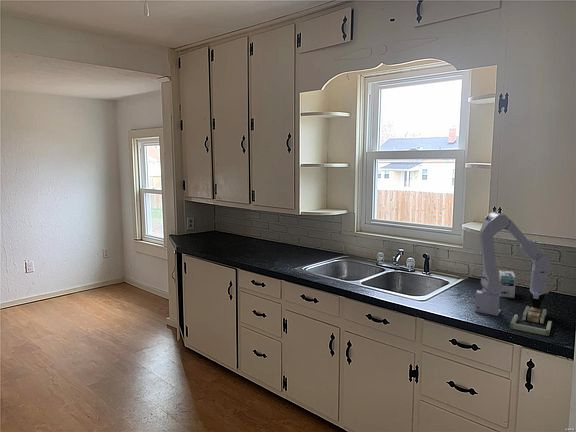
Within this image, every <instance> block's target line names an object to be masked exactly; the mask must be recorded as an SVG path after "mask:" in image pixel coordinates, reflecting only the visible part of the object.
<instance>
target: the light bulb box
mask: <svg viewBox="0 0 576 432" xmlns="http://www.w3.org/2000/svg"><path fill="white" fill-rule="evenodd" d="M498 276H499V280H500V282H501V284H502V286H503V288H502V291H501V292H500V298H511V299H515V297H516V296H515V294H516V281H517V280H516V279H517V277H516V275H515V272H514V271H512V270H499V271H498Z"/></svg>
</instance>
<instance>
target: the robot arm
mask: <svg viewBox="0 0 576 432" xmlns="http://www.w3.org/2000/svg"><path fill="white" fill-rule="evenodd" d="M479 229H480V230H479V239H480V242H479V243H480V247H481V248H480V250H481V259H482V268H483V271H482V272H481V279H480V284H481V286H482V289H481V290H479V289H477V290H476V294H475V300H474V301H475V302H474V312H476V313H480V314H486V315H492V316H497V317H498V316H499V314H500V313H501V311H502V310H501V309H500V298H501V297H500V292H501V291H502V288H503V286H502V284H501V282H500V280H499V272H498V271H497V264H496V263H497V262H496V252H495V243H494V236H495V235H496V234H497V233H499V232H501V231H502V230H505V231H507V232H509V233H510V234H511V236H512V237H514V239H516V241H517V242H518V243H519V248H520V250H522V252H523V253H524V254H525V256H527V257H528V258H529V261H530V262H531V264H532V265H531V266H532V267H531V275H530V287H529V292H530V293H529V298H530V300H531V304H532V305H531V307H533V308H538V309H541V305H542V302H543V301H544V300H545V298H546V294H549V290H546V286H547V277H548V268H549V266H551V263H552V261H551V259H550V257H549V256H548V255H547V254H545V253H544V252H545V251H544V249H541V248H540V247H539V246H538V244H537V241H536V240H534V239H531V238H527V237H526V235H524V233H523V232H522V231H521V230H520V229H519V227H518V226H517V225H516V224H515V222H514V221H513V220H512V219H510V218H509V217H508V216H507V215H506V214H502V213H499V212H498V211H491V212H489V213H488V214H487V215H486V216H485V217H484V221H483V223H482V226H481V227H480V228H479Z"/></svg>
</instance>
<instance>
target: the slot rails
mask: <svg viewBox="0 0 576 432" xmlns="http://www.w3.org/2000/svg"><path fill="white" fill-rule="evenodd" d="M530 308H531V307H530V306H528V305H526V306H525V309H524V311H523V312H522V317H521V318H522V321H527V318H528V313H529V310H530ZM546 317H547V308H543V309H542V310H541V316H540V318H539V324H541V325H543V324H544V322H545V319H546Z"/></svg>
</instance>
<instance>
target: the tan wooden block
mask: <svg viewBox="0 0 576 432" xmlns="http://www.w3.org/2000/svg"><path fill="white" fill-rule="evenodd" d="M540 317H541V316H540V313H536V312H530V311H529V313H528V316H527V318H526V321H527V322H531V323H537V324H538V323H540Z"/></svg>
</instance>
